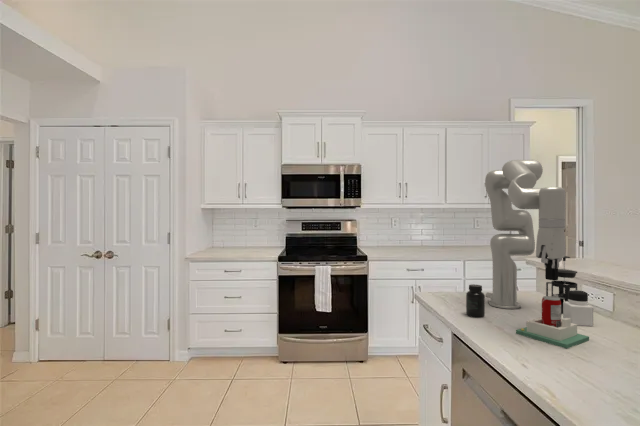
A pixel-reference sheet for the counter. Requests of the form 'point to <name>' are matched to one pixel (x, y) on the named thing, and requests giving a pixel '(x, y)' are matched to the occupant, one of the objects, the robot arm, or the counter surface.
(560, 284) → the french press
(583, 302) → the medicine bottle
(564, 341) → the board
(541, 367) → the counter surface
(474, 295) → the supplement bottle
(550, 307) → the soda can
